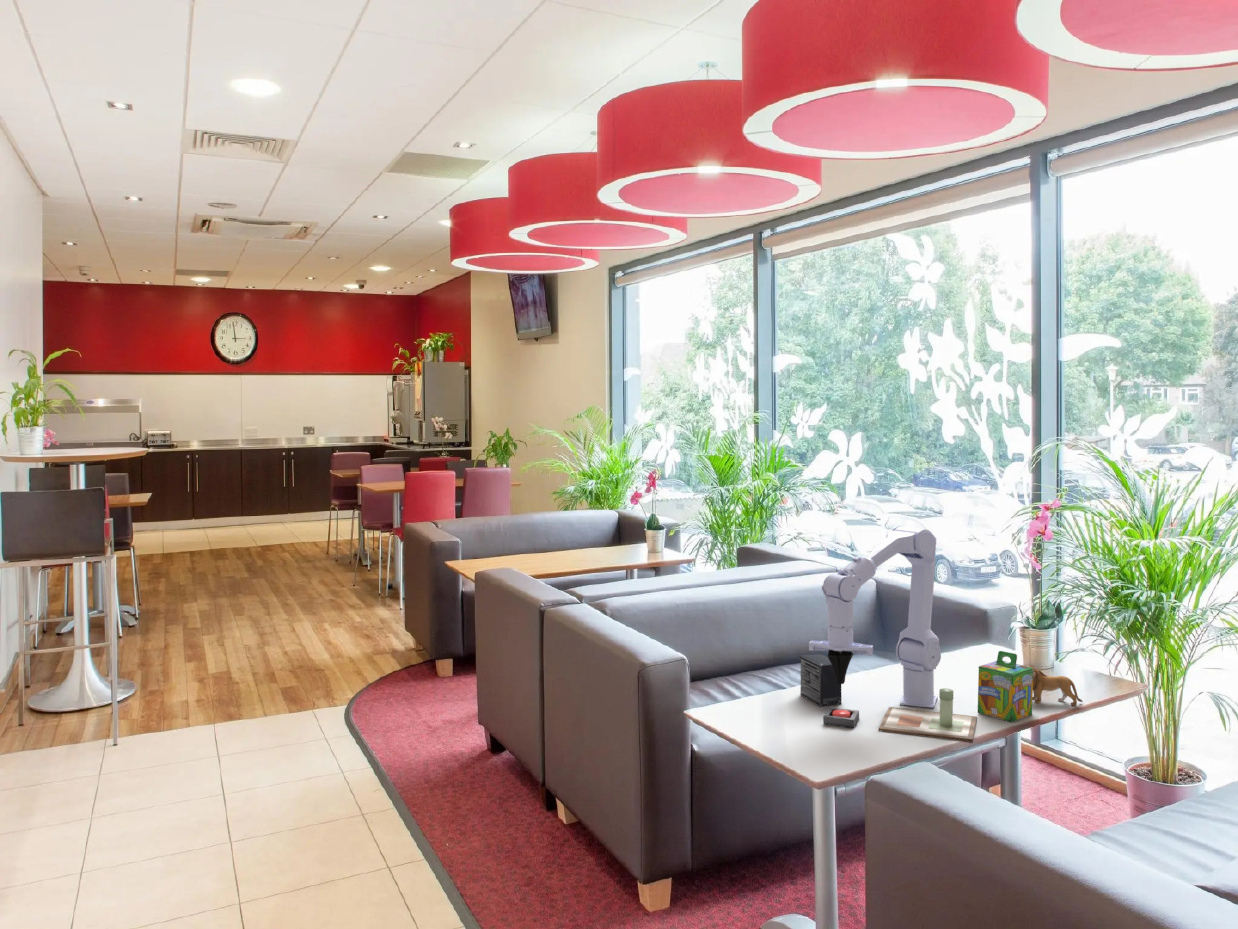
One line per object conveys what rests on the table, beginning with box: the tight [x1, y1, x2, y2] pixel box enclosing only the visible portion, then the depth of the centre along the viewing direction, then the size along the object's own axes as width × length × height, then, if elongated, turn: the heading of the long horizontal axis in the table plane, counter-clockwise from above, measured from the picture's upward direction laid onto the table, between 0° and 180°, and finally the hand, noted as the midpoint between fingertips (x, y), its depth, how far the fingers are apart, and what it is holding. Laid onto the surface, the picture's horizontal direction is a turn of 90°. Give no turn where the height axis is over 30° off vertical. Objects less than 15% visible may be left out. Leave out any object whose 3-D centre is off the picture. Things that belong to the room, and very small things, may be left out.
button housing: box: [822, 707, 860, 729], centre depth 214 cm, size 7×7×2 cm
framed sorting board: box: [878, 706, 977, 743], centre depth 211 cm, size 16×20×1 cm
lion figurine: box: [1026, 665, 1083, 707], centre depth 224 cm, size 15×5×9 cm, turn 77°
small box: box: [799, 653, 842, 707], centre depth 231 cm, size 11×6×10 cm, turn 18°
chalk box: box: [977, 650, 1034, 723], centre depth 216 cm, size 9×9×15 cm
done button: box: [833, 710, 850, 718], centre depth 214 cm, size 4×4×2 cm
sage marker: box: [938, 687, 954, 727], centre depth 208 cm, size 3×3×8 cm
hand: (841, 682), depth 214 cm, fingers closed
